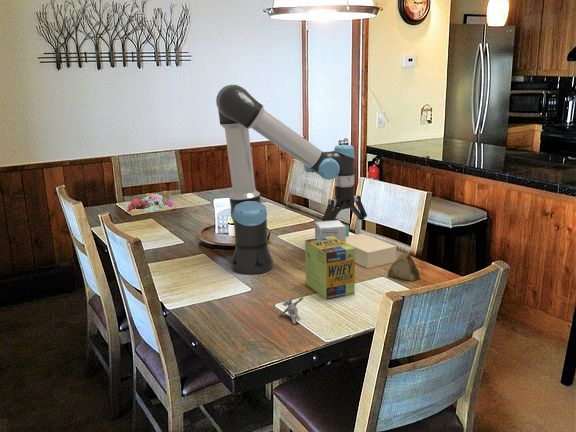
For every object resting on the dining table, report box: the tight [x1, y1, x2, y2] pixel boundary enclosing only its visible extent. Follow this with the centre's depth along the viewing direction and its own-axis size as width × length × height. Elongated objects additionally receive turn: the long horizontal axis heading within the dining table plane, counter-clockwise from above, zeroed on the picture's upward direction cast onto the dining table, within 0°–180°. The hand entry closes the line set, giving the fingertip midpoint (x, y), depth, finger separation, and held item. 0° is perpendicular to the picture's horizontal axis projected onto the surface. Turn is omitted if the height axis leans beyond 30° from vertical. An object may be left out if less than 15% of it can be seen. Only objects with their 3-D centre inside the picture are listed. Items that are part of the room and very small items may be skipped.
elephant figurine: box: [278, 296, 304, 325], centre depth 161 cm, size 9×5×8 cm
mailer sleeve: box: [346, 232, 397, 270], centre depth 211 cm, size 20×13×6 cm, turn 30°
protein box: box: [304, 236, 356, 300], centre depth 181 cm, size 10×15×16 cm
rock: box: [387, 253, 422, 281], centre depth 191 cm, size 10×8×10 cm
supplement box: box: [314, 219, 346, 243], centre depth 198 cm, size 10×9×17 cm
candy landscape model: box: [126, 190, 176, 213], centre depth 291 cm, size 25×24×9 cm
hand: (344, 237), depth 222 cm, fingers open, 13 cm apart
